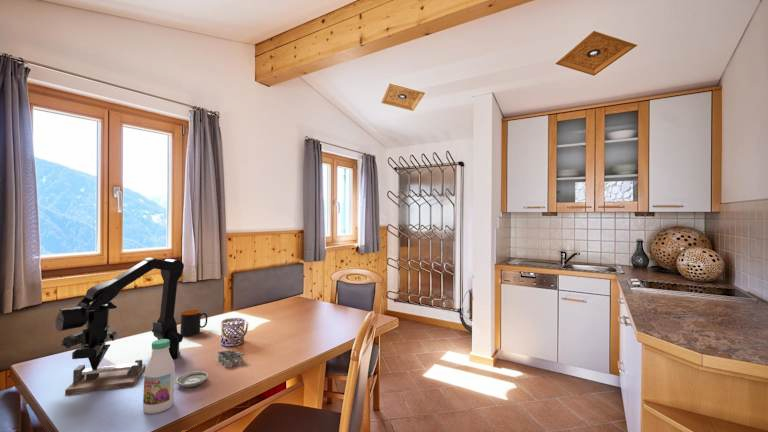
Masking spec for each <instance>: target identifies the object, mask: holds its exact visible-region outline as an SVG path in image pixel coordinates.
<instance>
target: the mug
mask: <svg viewBox="0 0 768 432" xmlns="http://www.w3.org/2000/svg"><path fill="white" fill-rule="evenodd" d="M203 315H204V317H205V322H204V324H203V325H201V318H202V316H203ZM207 325H208V314H207V313H206V312H201V310H197V309H193V310H186V311H182V312H181V314H180V330H179V331H180V333H179V334H181V335H182V336H183V338H189V337H190V338H191V337H194V336H198V335H199V334H201V329H203V328H205V327H206V326H207Z"/></svg>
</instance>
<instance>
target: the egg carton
mask: <svg viewBox="0 0 768 432" xmlns="http://www.w3.org/2000/svg"><path fill="white" fill-rule="evenodd" d="M216 354H217V362H218V363H220V364H221V365H223V366H224V368H232V367H233V366H236V365H237V366H240V365H241V364H242V363H243V360H244V359H243V358H244V353H243V352H239V351H236V350H235V349H232V350H230V349H228V350H222V351H217V353H216Z"/></svg>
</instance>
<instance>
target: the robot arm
mask: <svg viewBox="0 0 768 432" xmlns="http://www.w3.org/2000/svg"><path fill="white" fill-rule="evenodd" d="M184 265H185V264H184V263H183V262H182V260H179V259H175V258H174V259H173V258H166V259H165V260H164V259H163V260H162V259H157V258H154V257H146V258H144V259H143V260H142V261H141V262H139V263H137V264H136V265H134V266H132V267H131V268H128V269H127V270H126V271H124V272H122V273H121V274H119V275H118V276H116V277H114V278H113V279H110V280H107V281H103V282H101V283H98V284H95V285H93V286H91V287H89V288H88V289H87V290H86V293H85V295H84V297H83V298H82V299H81V300H80V301H79V302H78V303H77V305H76V307H69V308H66V307H65V308H60V309H59V313H58V314H57V315H56V318H55V319H54V320H55V323H54V324H55V328H56V331H58V332H62V331H69V330H73V329H78V328H82V327H84V325H86V327H85V328H83V330H81V331H80V332H77V333H74V334H70V335H66V336H65V337H63V339H62V341H61V346H62V347H65V349H66V350H67V349H70V348H72V347H75V346H77V345H80V346H79V347H78V348H77V349H75V350H74V351H73V352H72V353H71V359H72V360H79V359H80V360H81V359H88V361H89V364H90V366H91V367H92V370H94V369H97V368H98V367H100V364H101V362H102V360H103V358H104V357H105V355H106V353H107V351H108V350H109V348H110V347H111V344H106V343H107V341H108V340H110V339H111V341H113V342H114V341H116V340H117V338H118V333H117V332H116V331H115V330H110V331H109V328H111V323H109V318H110V310H112V309H113V310H114V309H117V307H118V306H117V305H115V304H114V303H113V302H112V301H113V300H114V299H115V298H116V297H117V296H118V295H119V293H120V292H122V290H124V288H126V287H127V286H129V285H131V284H132V283H133V282H135V281H136V280H138V279H139V278H141V277H143V276H144V275H146V274H147V273H149V272H151V271H153V270H154V269H155V270H159V271H160V276H161V277H162V280H163V284H162V295H161V303H160V311H159V318H158V319H157V321H153V322H152V330H151V333H153V334H152V335H153V336H154V338H157V339H156V340H160V339H169V340H170V347H169V353H170V355H171V357H172V359H173V360H174V359H175V360H176V359H178V357H179V355H180V353H181V351H180V343H181V342H183V339H184V337H183V336H182V335H181V334H180V333H179V332H178V324H177V321H176V319H175V309H176V300H177V291H178V282H179V280H180V279H181V277H182V275H183V271H184V268H185V266H184ZM91 367H90V368H91Z"/></svg>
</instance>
